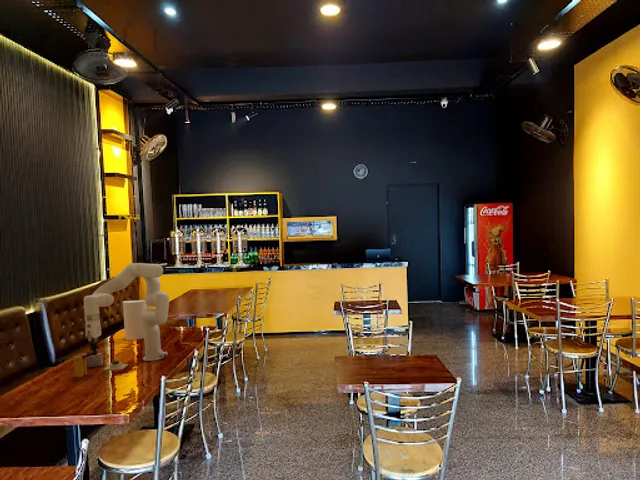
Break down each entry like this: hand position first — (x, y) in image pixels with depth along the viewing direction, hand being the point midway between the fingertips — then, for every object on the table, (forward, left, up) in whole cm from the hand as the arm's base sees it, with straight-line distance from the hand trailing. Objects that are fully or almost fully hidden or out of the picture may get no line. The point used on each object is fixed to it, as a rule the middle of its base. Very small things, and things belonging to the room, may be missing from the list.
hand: (94, 349), depth 281 cm
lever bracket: (+8, 0, -16) cm, 18 cm away
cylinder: (+11, -100, -16) cm, 102 cm away
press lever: (+4, 0, -5) cm, 6 cm away
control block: (-7, -12, -16) cm, 21 cm away
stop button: (-7, -12, -12) cm, 18 cm away
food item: (+11, -20, -16) cm, 28 cm away
